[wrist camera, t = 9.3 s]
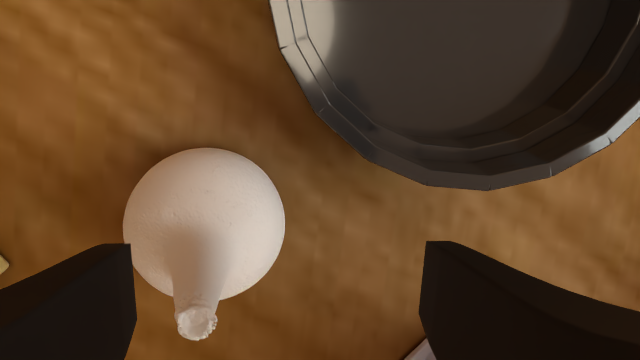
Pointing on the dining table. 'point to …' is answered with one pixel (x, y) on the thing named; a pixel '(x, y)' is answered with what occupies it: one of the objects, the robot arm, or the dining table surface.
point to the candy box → (3, 264)
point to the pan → (467, 82)
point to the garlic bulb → (203, 231)
